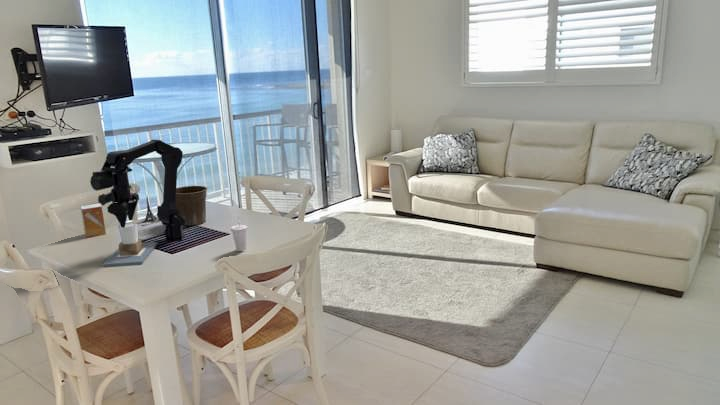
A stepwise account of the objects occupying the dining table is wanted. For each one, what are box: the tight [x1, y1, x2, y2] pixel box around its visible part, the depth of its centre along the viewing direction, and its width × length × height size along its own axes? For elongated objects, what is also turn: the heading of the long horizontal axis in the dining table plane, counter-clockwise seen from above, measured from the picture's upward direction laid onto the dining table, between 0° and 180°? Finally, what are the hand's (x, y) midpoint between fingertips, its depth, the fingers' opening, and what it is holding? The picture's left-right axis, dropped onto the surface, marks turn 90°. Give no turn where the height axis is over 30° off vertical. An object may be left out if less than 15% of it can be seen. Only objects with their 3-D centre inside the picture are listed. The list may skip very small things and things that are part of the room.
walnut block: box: [118, 238, 143, 256], centre depth 205 cm, size 7×7×4 cm
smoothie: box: [230, 215, 248, 252], centre depth 205 cm, size 6×6×14 cm
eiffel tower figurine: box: [140, 196, 161, 227], centre depth 248 cm, size 15×10×13 cm
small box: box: [79, 202, 107, 238], centre depth 231 cm, size 8×6×13 cm
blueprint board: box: [102, 241, 158, 267], centre depth 205 cm, size 14×22×1 cm, turn 6°
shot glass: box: [117, 222, 139, 244], centre depth 203 cm, size 7×7×7 cm
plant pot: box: [176, 185, 208, 227], centre depth 243 cm, size 16×16×16 cm
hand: (127, 223), depth 202 cm, fingers open, 9 cm apart
